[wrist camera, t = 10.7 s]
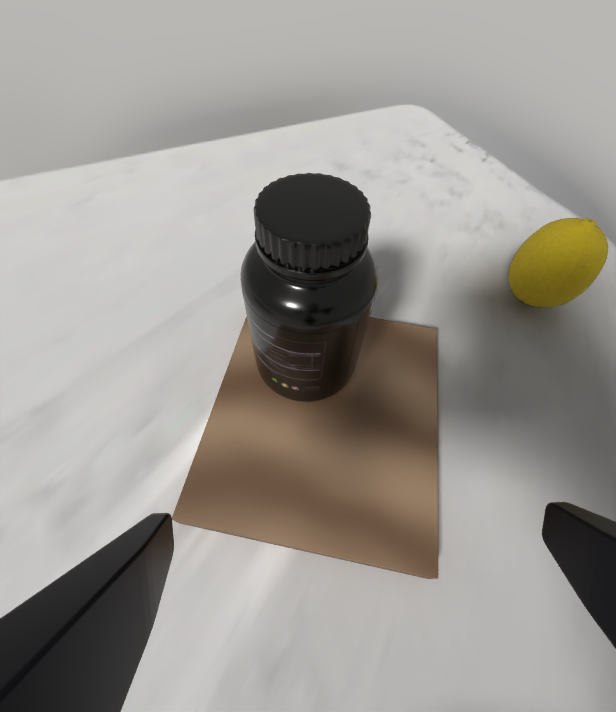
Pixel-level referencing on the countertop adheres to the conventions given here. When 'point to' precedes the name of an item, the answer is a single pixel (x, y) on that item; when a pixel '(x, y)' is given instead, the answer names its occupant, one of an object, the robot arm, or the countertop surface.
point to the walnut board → (328, 458)
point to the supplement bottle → (309, 284)
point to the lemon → (558, 262)
